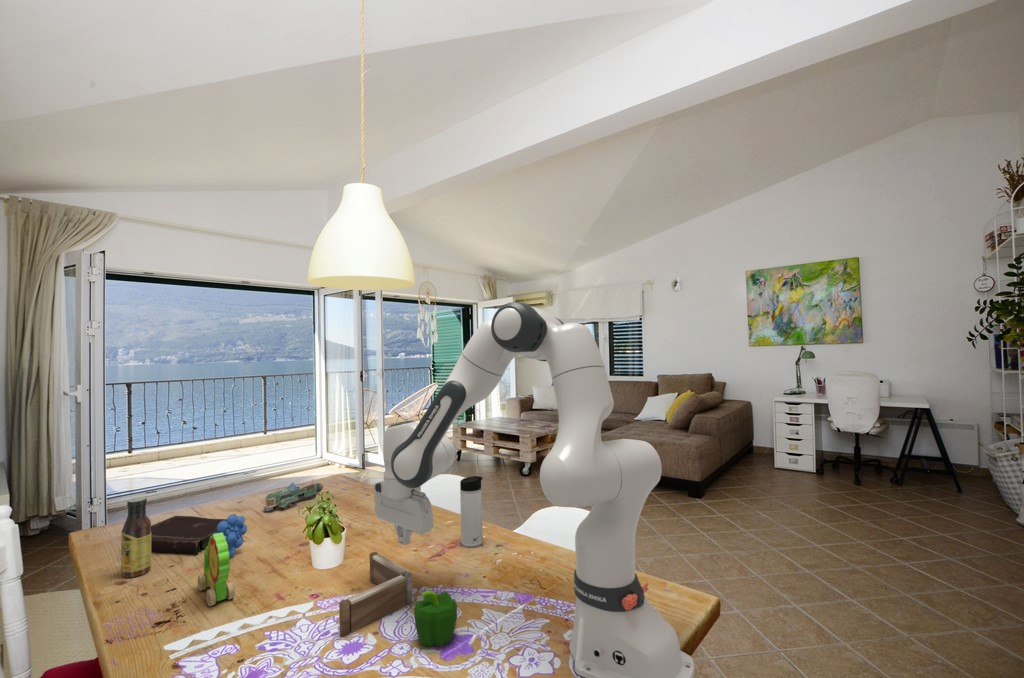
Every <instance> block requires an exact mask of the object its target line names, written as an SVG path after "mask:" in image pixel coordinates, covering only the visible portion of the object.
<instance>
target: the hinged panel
mask: <svg viewBox="0 0 1024 678" xmlns="http://www.w3.org/2000/svg"><path fill="white" fill-rule="evenodd" d="M406 573H410V572H409V569H407V568H406V567H404V566H402V565H400V564H399V563H396V562H395V561H393V560H391V559H389V558H387V557H385V556H384V555H382V554H381V553H379V552H377V551H374V552H370V553H369V582H370V583H372V584H375V586H377V585H380V584H382V583H384V582H387V581H389V580H391V579H394V578H396V577H398V576H401V575H402V576H404V575H405V574H406ZM404 577H405V576H404Z"/></svg>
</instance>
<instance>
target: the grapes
mask: <svg viewBox="0 0 1024 678" xmlns="http://www.w3.org/2000/svg"><path fill="white" fill-rule="evenodd" d="M245 521H246V518H245V516H244V515H239V516H238V515H237V514H235V513H232V514H230V515H229V516H228V517H227V520H226V521H225V520H224V521H221V522H220V523H219V524H218V525H217V533H221V532H222V533H223V534H224V536H225V538H226V542H227V544H228V551H229V556H230V559H231V558H233V557H234V555H235V553H236V549H239V548H240V547H242V546H243V544H244V541H245V540H244V537H243V536H244V535H245V534H246V533H247V531H248V526H247V525H246V524H245ZM217 533H214V534H217Z"/></svg>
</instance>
